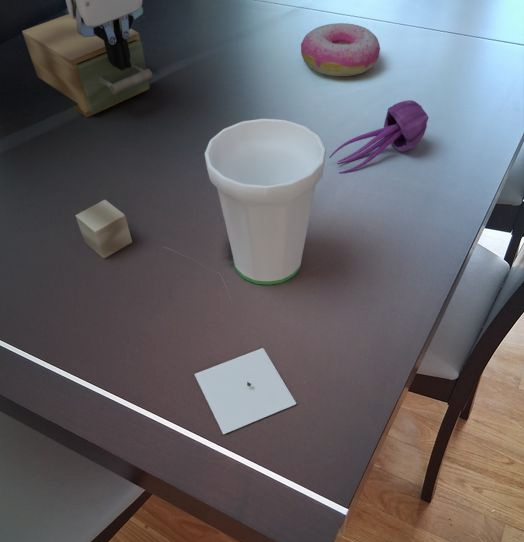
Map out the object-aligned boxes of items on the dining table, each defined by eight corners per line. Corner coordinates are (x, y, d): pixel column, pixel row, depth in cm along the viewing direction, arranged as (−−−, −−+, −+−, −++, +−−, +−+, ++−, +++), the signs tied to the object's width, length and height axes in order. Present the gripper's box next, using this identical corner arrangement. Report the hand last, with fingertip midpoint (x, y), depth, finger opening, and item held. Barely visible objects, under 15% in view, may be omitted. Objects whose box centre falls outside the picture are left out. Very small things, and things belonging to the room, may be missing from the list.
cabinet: (149, 89, 97) (139, 32, 89) (87, 117, 91) (70, 60, 84) (101, 61, 103) (88, 6, 96) (40, 86, 98) (21, 30, 91)
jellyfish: (323, 133, 78) (415, 82, 79) (321, 159, 85) (406, 111, 86) (349, 171, 77) (442, 118, 78) (344, 194, 83) (430, 145, 84)
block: (104, 259, 71) (94, 231, 67) (84, 242, 73) (74, 215, 69) (132, 242, 73) (125, 214, 69) (113, 226, 75) (104, 199, 71)
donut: (392, 73, 98) (396, 43, 94) (322, 89, 95) (324, 59, 91) (354, 41, 106) (357, 12, 102) (289, 55, 103) (290, 26, 99)
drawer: (168, 98, 93) (160, 52, 87) (110, 125, 88) (98, 79, 82) (104, 61, 101) (94, 17, 96) (48, 84, 97) (34, 39, 91)
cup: (314, 226, 74) (320, 115, 62) (322, 296, 66) (331, 185, 54) (218, 229, 74) (206, 119, 62) (215, 299, 66) (201, 190, 54)
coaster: (194, 374, 60) (193, 369, 59) (263, 347, 61) (262, 343, 61) (223, 434, 55) (222, 430, 54) (296, 403, 57) (296, 399, 56)
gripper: (119, -98, 77) (145, 42, 92) (22, -69, 71) (66, 75, 86) (152, -87, 74) (174, 57, 89) (53, -56, 68) (94, 93, 82)
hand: (121, 65), depth 87 cm, fingers closed
